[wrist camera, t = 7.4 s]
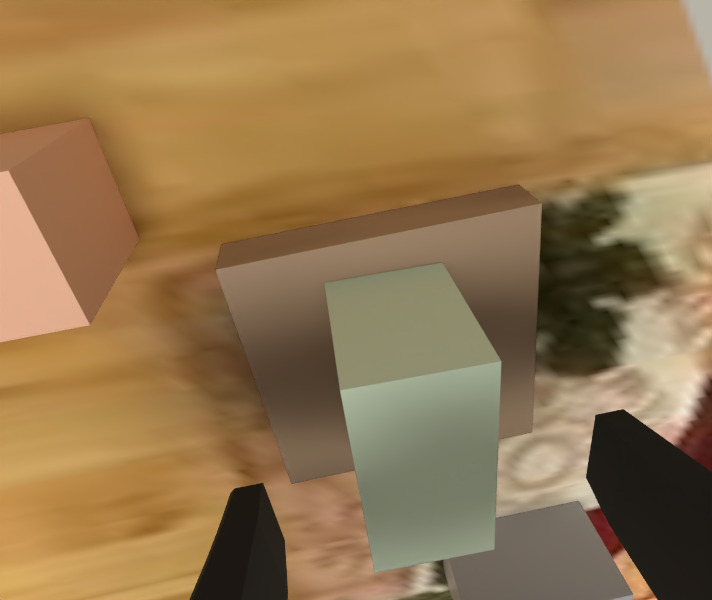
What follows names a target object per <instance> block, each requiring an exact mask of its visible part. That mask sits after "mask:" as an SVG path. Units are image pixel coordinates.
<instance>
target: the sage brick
mask: <svg viewBox="0 0 712 600" xmlns="http://www.w3.org/2000/svg"><path fill="white" fill-rule="evenodd" d="M324 284H325V291H326V298H327V305H328V311H329V318H330V325H331V332H332V339H333V346H334V353H335V359H336V366H337V373H338V380H339V387H340V393H341V398H342V403H343V409H344V414H345V419H346V424H347V430H348V435H349V440H350V445H351V451H352V456H353V461H354V466H355V472H356V477H357V482H358V488H359V493H360V498H361V503H362V509H363V514H364V519H365V524H366V530H367V535H368V540H369V545H370V551H371V556H372V561H373V566H374V572H375V573H377V572H382V571H387V570H392V569H397V568H402V567H407V566H413V565H418V564H423V563H428V562H433V561H438V560H443V559H448V558H453V557H458V556H463V555H468V554H474V553H479V552H484V551H489V550H494V543H495V516H496V490H497V463H498V437H499V410H500V384H501V360H500V358H499V356H498V355H497V353H496V351H495V350H494V348H493V346H492V345H491V343H490V341H489V340H488V338H487V336H486V335H485V333H484V331H483V330H482V328H481V326H480V325H479V323H478V321H477V320H476V318H475V316H474V315H473V313H472V311H471V310H470V308H469V306H468V305H467V303H466V301H465V299H464V298H463V296H462V294H461V293H460V291H459V289H458V288H457V286H456V284H455V283H454V281H453V279H452V278H451V276H450V274H449V273H448V271H447V269H446V268H445V266H444V264H443V263H442V262H441V263H436V264H430V265H424V266H418V267H412V268H407V269H401V270H395V271H389V272H383V273H378V274H372V275H366V276H360V277H354V278H349V279H343V280H337V281H331V282H325V283H324Z"/></svg>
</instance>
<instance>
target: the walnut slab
mask: <svg viewBox="0 0 712 600" xmlns="http://www.w3.org/2000/svg"><path fill="white" fill-rule="evenodd" d="M541 213H542V203H541V202H540V201H538V200H537V199H536V198H535V197H533V196H532V195H531V194H530V193H528V192H527V191H526V190H525V189H523V188H522V187H521V186H520V185H514V186H509V187H504V188H499V189H494V190H489V191H484V192H479V193H474V194H469V195H464V196H459V197H454V198H449V199H444V200H439V201H434V202H430V203H425V204H420V205H415V206H410V207H405V208H400V209H395V210H390V211H385V212H380V213H375V214H370V215H365V216H360V217H355V218H350V219H345V220H340V221H335V222H330V223H325V224H320V225H315V226H310V227H305V228H300V229H295V230H290V231H285V232H280V233H275V234H270V235H265V236H261V237H256V238H251V239H246V240H241V241H236V242H231V243H226V244H221V248H220V252H219V256H218V261H217V265H216V269H215V270H216V273H217V276H218V279H219V282H220V284H221V287H222V290H223V293H224V296H225V298H226V301H227V304H228V307H229V310H230V312H231V315H232V318H233V321H234V324H235V326H236V329H237V332H238V335H239V338H240V341H241V343H242V346H243V349H244V352H245V355H246V357H247V360H248V363H249V366H250V369H251V371H252V374H253V377H254V380H255V383H256V385H257V388H258V391H259V394H260V397H261V399H262V402H263V405H264V408H265V411H266V414H267V416H268V419H269V422H270V425H271V428H272V430H273V433H274V436H275V439H276V442H277V444H278V447H279V450H280V453H281V456H282V458H283V461H284V464H285V467H286V470H287V472H288V475H289V478H290V481H291V484H294V483H299V482H303V481H308V480H312V479H317V478H322V477H326V476H331V475H336V474H340V473H345V472H350V471H354V470H355V466H354V461H353V456H352V451H351V445H350V440H349V435H348V430H347V424H346V419H345V414H344V409H343V403H342V398H341V393H340V387H339V380H338V373H337V366H336V359H335V353H334V346H333V339H332V332H331V325H330V318H329V311H328V305H327V298H326V291H325V284H324V283H325V282H331V281H337V280H343V279H349V278H354V277H360V276H366V275H372V274H378V273H383V272H389V271H395V270H401V269H407V268H412V267H418V266H424V265H430V264H436V263H441V262H442V263H443V264H444V266H445V268H446V269H447V271H448V273H449V274H450V276H451V278H452V279H453V281H454V283H455V284H456V286H457V288H458V289H459V291H460V293H461V294H462V296H463V298H464V299H465V301H466V303H467V305H468V306H469V308H470V310H471V311H472V313H473V315H474V316H475V318H476V320H477V321H478V323H479V325H480V326H481V328H482V330H483V331H484V333H485V335H486V336H487V338H488V340H489V341H490V343H491V345H492V346H493V348H494V350H495V351H496V353H497V355H498V356H499V358H500V360H501V384H500V410H499V437H498V439H503V438H507V437H512V436H517V435H521V434H526V433H531V432H532V425H533V402H534V378H535V354H536V331H537V307H538V284H539V260H540V237H541Z"/></svg>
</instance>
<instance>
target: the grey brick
mask: <svg viewBox="0 0 712 600" xmlns="http://www.w3.org/2000/svg"><path fill="white" fill-rule="evenodd" d="M443 567H444V572H445V575H446V579H447V582H448V586H449V590H450V593H451V597H452V600H632V598H633V593H632V591H631V589H630V588H629V586H628V584H627V583H626V581H625V579H624V577H623V576H622V574H621V572H620V571H619V569H618V567H617V566H616V564H615V562H614V560H613V559H612V557H611V555H610V554H609V552H608V550H607V548H606V547H605V545H604V543H603V542H602V540H601V538H600V536H599V535H598V533H597V531H596V530H595V528H594V526H593V524H592V523H591V521H590V519H589V518H588V516H587V514H586V512H585V511H584V509H583V507H582V506H581V504H580V502H579V501H576V502H571V503H566V504H562V505H557V506H552V507H547V508H542V509H538V510H533V511H528V512H523V513H519V514H514V515H509V516H504V517H499V518H495V543H494V550H489V551H484V552H479V553H474V554H468V555H463V556H458V557H453V558H448V559H443Z"/></svg>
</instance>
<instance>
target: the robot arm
mask: <svg viewBox="0 0 712 600" xmlns="http://www.w3.org/2000/svg"><path fill="white" fill-rule="evenodd" d="M586 478H587V480H588V482H589V484H590V486H591V489H592V491H593V493H594V495H595V497H596V499H597V501H598V503H599V505H600V507H601V509H602V511H603V513H604V515H605V517H606V519H607V521H608V523H609V524H610V526H611V528H612V529H613V531H614V532H615V534H616V536H617V537H618V539H619V540H620V542H621V544H622V545H623V547H624V548H625V550H626V551H627V553H628V554H629V556H630V558H631V559H632V561H633V562H634V564H635V565H636V567H637V569H638V570H639V572H640V573H641V575H642V576H643V578H644V579H645V581H646V582H647V584H648V586H649V587H650V589H651V590H652V592H653V593H654V595H655V596H656V598H657V599H658V600H712V472H711V471H710V470H708V469H707V468H705V467H704V466H702V465H701V464H700V463H698V462H697V461H695V460H694V459H692V458H691V457H690V456H688V455H687V454H685V453H684V452H682V451H681V450H680V449H678V448H677V447H675V446H674V445H673V444H671V443H670V442H668V441H667V440H666V439H664V438H663V437H661V436H660V435H659V434H657V433H656V432H654V431H653V430H652V429H650V428H649V427H647V426H646V425H645V424H643V423H642V422H640V421H639V420H638V419H636V418H635V417H634V416H632V415H631V414H629V413H628V412H626V411H625V410H624V409H622V410H617V411H613V412H608V413H603V414H598V415H596V416H595V423H594V429H593V436H592V442H591V449H590V455H589V462H588V468H587V474H586ZM190 600H288V586H287V568H286V553H285V540H284V537H283V534H282V532H281V529H280V527H279V524H278V521H277V519H276V516H275V513H274V511H273V508H272V505H271V503H270V500H269V498H268V495H267V492H266V490H265V487H264V484H263V483H260V484H255V485H250V486H245V487H240V488H235V489H234V490H233V491H232V492H231V493H230V496H229V499H228V502H227V505H226V508H225V511H224V514H223V517H222V520H221V523H220V525H219V528H218V531H217V534H216V536H215V539H214V541H213V544H212V547H211V549H210V552H209V554H208V557H207V559H206V562H205V564H204V567H203V569H202V571H201V574H200V576H199V579H198V581H197V583H196V586H195V588H194V590H193V593H192V595H191V597H190Z"/></svg>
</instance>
